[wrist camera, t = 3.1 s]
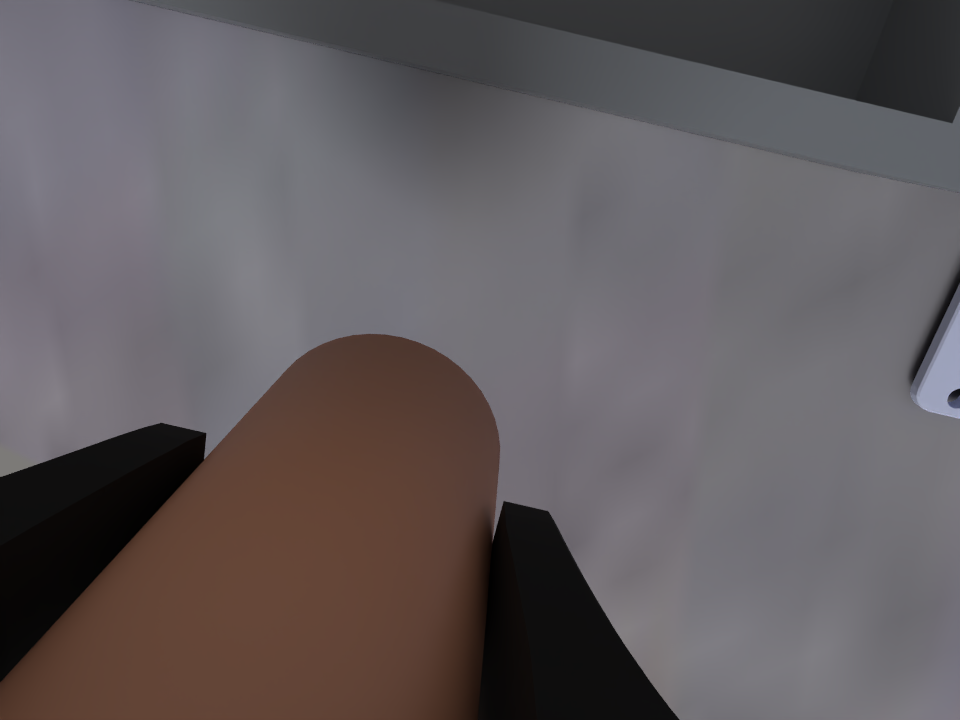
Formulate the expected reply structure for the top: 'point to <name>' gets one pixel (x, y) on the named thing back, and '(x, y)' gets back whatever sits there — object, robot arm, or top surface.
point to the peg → (299, 562)
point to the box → (682, 65)
